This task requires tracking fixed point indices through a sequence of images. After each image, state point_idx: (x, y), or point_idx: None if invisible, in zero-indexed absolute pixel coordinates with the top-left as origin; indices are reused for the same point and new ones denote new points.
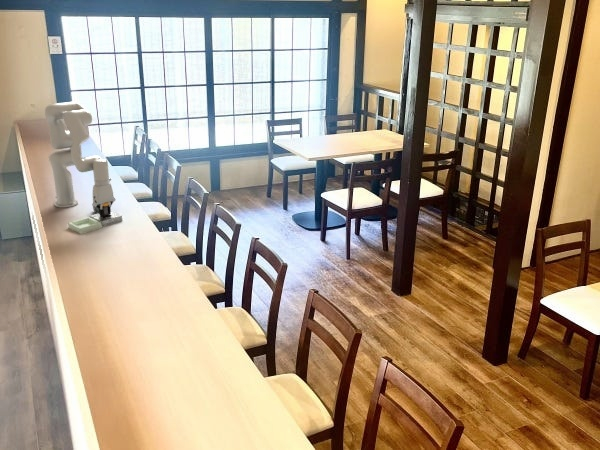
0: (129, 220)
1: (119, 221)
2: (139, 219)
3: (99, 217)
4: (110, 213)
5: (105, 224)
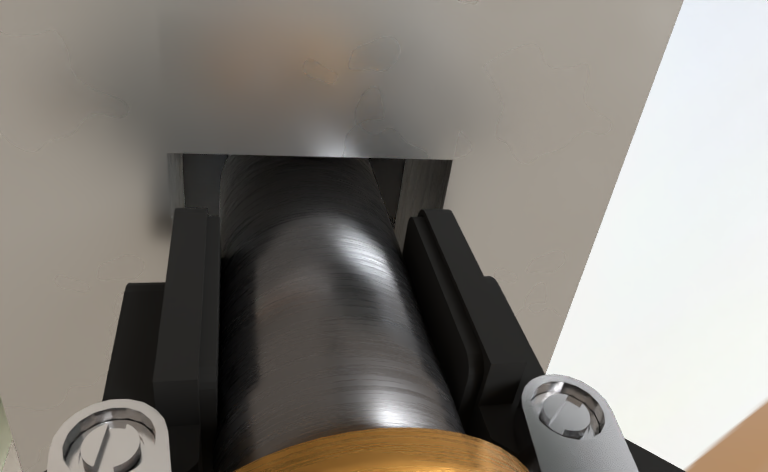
0: None
1: None
2: (648, 445)
3: (102, 273)
4: None
5: None
